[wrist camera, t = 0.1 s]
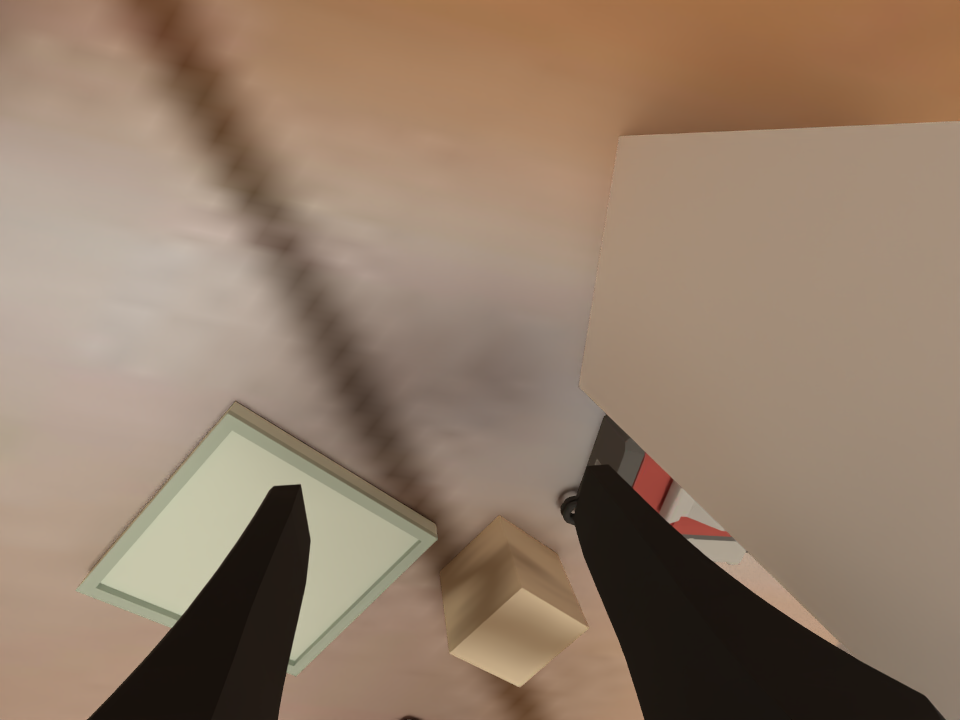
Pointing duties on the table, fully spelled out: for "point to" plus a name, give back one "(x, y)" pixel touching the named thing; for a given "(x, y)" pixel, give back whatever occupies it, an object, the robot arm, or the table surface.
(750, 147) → the milk
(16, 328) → the table surface
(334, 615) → the sage tile
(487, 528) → the beech cube
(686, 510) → the walkie-talkie
